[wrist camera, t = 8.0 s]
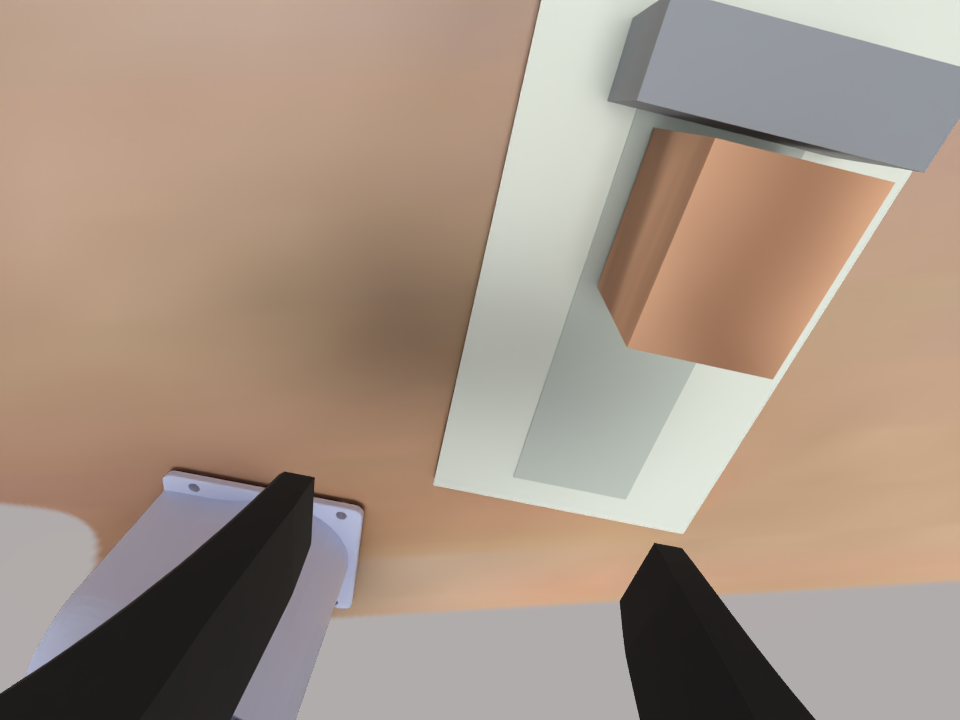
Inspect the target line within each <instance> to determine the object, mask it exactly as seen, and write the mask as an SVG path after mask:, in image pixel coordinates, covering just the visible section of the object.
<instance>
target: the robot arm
mask: <svg viewBox="0 0 960 720" xmlns="http://www.w3.org/2000/svg"><path fill="white" fill-rule="evenodd" d="M314 480H315V477H310V476H305V475H299V474H294V473H289V472H283V473H281V474H279V475H278V476H277V477H276V478H275V479H274V480H273V481H272V482H271V483H270V484H269V485H268V486H267V487H266V488H264V487H259V486H253V485H248V484H243V483H238V482H232V481H227V480H222V479H217V478H211V477H206V476H201V475H196V474H191V473H185V472H180V471H170V472H168V473H167V474H166V475H165V476H164V478H163V486H164V491H163V492H162V493H161V495H160V496H159V497H158V498H157V499H156V500H155V501H154V502H153V504H152V505H151V506H150V507H149V508H148V509H147V510H146V512H145V513H144V514H143V515H142V516H141V517H140V518H139V519H138V521H137V522H136V523H135V524H134V525H133V526H132V527H131V528H130V530H129V531H128V532H127V533H126V534H125V535H124V536H123V537H122V539H121V540H120V541H119V542H118V543H117V544H116V545H115V546H114V548H113V549H112V550H111V551H110V552H109V553H108V554H107V556H106V557H105V558H104V559H103V560H102V561H101V562H100V563H99V565H98V566H97V567H96V568H95V569H94V570H93V571H92V572H91V574H90V575H89V576H88V577H87V578H86V579H85V580H84V582H83V583H82V584H81V585H80V586H79V587H78V588H77V589H76V591H75V592H74V593H73V594H72V595H71V596H70V598H69V599H68V600H67V601H66V603H65V604H64V605H63V606H62V608H61V609H60V611H59V612H58V614H57V615H56V616H55V618H54V619H53V621H52V623H51V624H50V626H49V628H48V629H47V631H46V633H45V634H44V636H43V638H42V640H41V642H40V644H39V645H38V647H37V649H36V651H35V654H34V656H33V658H32V660H31V662H30V665H29V668H28V671H27V674H26V677H25V678H23V679H22V680H20V681H19V682H17V683H16V684H14V685H13V686H11V687H10V688H8V689H7V690H5V691H3V692H2V693H0V720H296V718H297V715H298V712H299V709H300V706H301V703H302V700H303V697H304V694H305V691H306V688H307V685H308V682H309V680H310V677H311V673H312V671H313V668H314V665H315V662H316V659H317V656H318V653H319V650H320V647H321V645H322V642H323V639H324V636H325V633H326V630H327V627H328V624H329V621H330V618H331V615H332V612H333V610H334V607H335V608H341V609H346V608H349V607H350V606H351V604H352V601H353V595H354V588H355V580H356V572H357V564H358V556H359V548H360V540H361V533H362V525H363V517H364V512H363V510H362V508H360V507H359V506H357V505H353V504H348V503H343V502H337V501H332V500H327V499H322V498H316V497H314ZM342 512H343V513H342ZM620 609H621V619H622V629H623V638H624V646H625V654H626V659H627V664H628V668H629V673H630V678H631V682H632V686H633V691H634V696H635V700H636V704H637V709H638V713H639V718H640V720H815V719H814V717H813V716H812V715H811V714H810V713H809V711H808V710H807V709H806V708H805V707H804V705H803V704H802V703H801V702H800V701H799V699H798V698H797V697H796V696H795V694H794V693H793V692H792V691H791V690H790V689H789V687H788V686H787V685H786V683H785V682H784V681H783V680H782V679H781V677H780V676H779V675H778V673H777V672H776V671H775V670H774V668H773V667H772V666H771V665H770V664H769V662H768V661H767V660H766V658H765V657H764V656H763V654H762V653H761V652H760V651H759V649H758V648H757V647H756V646H755V644H754V643H753V642H752V640H751V639H750V638H749V636H748V635H747V634H746V632H745V631H744V630H743V628H742V627H741V626H740V624H739V623H738V622H737V621H736V619H735V618H734V616H733V615H732V614H731V613H730V611H729V610H728V608H727V607H726V606H725V605H724V603H723V602H722V600H721V599H720V598H719V596H718V595H717V594H716V592H715V591H714V590H713V588H712V587H711V586H710V584H709V583H708V582H707V580H706V579H705V578H704V576H703V575H702V574H701V572H700V571H699V570H698V568H697V567H696V566H695V564H694V563H693V562H692V560H691V559H690V558H689V557H688V555H687V554H686V553H685V552H684V550H683V549H682V548H678V547H673V546H667V545H662V544H657V543H654V545H653V546H652V548H651V550H650V551H649V553H648V555H647V556H646V558H645V560H644V561H643V563H642V565H641V566H640V568H639V570H638V571H637V573H636V575H635V576H634V578H633V580H632V582H631V583H630V585H629V587H628V588H627V590H626V592H625V593H624V595H623V597H622V598H621V600H620Z"/></svg>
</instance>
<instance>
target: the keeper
mask: <svg viewBox="0 0 960 720" xmlns="http://www.w3.org/2000/svg"><path fill="white" fill-rule="evenodd" d="M894 184H895V182H891V181H887V180H883V179H879V178H875V177H871V176H867V175H863V174H859V173H855V172H851V171H847V170H843V169H839V168H835V167H831V166H827V165H823V164H819V163H815V162H811V161H807V160H803V159H799V158H795V157H791V156H787V155H783V154H779V153H775V152H771V151H766V150H762V149H758V148H754V147H750V146H746V145H742V144H738V143H734V142H730V141H726V140H722V139H718V138H714V137H707V136H701V135H695V134H689V133H683V132H677V131H671V130H665V129H659V128H654V130H653V133H652V136H651V139H650V141H649V144H648V147H647V150H646V153H645V155H644V158H643V161H642V164H641V167H640V169H639V172H638V175H637V178H636V180H635V183H634V186H633V189H632V192H631V194H630V197H629V200H628V203H627V206H626V208H625V211H624V214H623V217H622V219H621V222H620V225H619V228H618V231H617V233H616V236H615V239H614V242H613V245H612V247H611V250H610V253H609V256H608V259H607V261H606V264H605V267H604V270H603V272H602V275H601V278H600V281H599V284H598V286H597V288H598V290H599V292H600V294H601V296H602V298H603V300H604V302H605V304H606V306H607V308H608V310H609V312H610V314H611V316H612V318H613V320H614V322H615V324H616V326H617V328H618V331H619V333H620V335H621V337H622V339H623V341H624V343H625V345H626V347H627V348H630V349H635V350H639V351H644V352H649V353H653V354H658V355H662V356H667V357H671V358H676V359H681V360H685V361H690V362H694V363H699V364H704V365H708V366H713V367H717V368H722V369H726V370H731V371H736V372H740V373H745V374H749V375H754V376H759V377H763V378H768V379H772V380H773V379H774V377H775V375H776V374H777V372H778V370H779V369H780V367H781V366H782V364H783V362H784V361H785V359H786V358H787V356H788V354H789V353H790V351H791V350H792V348H793V346H794V345H795V343H796V342H797V340H798V338H799V337H800V335H801V334H802V332H803V330H804V329H805V327H806V326H807V324H808V322H809V321H810V319H811V317H812V316H813V314H814V313H815V311H816V309H817V308H818V306H819V305H820V303H821V301H822V300H823V298H824V297H825V295H826V293H827V292H828V290H829V289H830V287H831V285H832V284H833V282H834V281H835V279H836V277H837V276H838V274H839V273H840V271H841V269H842V268H843V266H844V265H845V263H846V261H847V260H848V258H849V256H850V255H851V253H852V252H853V250H854V248H855V247H856V245H857V244H858V242H859V240H860V239H861V237H862V236H863V234H864V232H865V231H866V229H867V228H868V226H869V224H870V223H871V221H872V220H873V218H874V216H875V215H876V213H877V212H878V210H879V208H880V207H881V205H882V204H883V202H884V200H885V199H886V197H887V195H888V194H889V192H890V191H891V189H892V187H893V186H894Z"/></svg>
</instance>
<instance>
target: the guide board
mask: <svg viewBox="0 0 960 720" xmlns="http://www.w3.org/2000/svg"><path fill="white" fill-rule="evenodd" d="M959 118H960V0H541V3H540V7H539V12H538V16H537V21H536V25H535V30H534V34H533V39H532V43H531V48H530V52H529V57H528V61H527V66H526V70H525V74H524V79H523V83H522V88H521V92H520V97H519V101H518V106H517V110H516V115H515V119H514V124H513V128H512V133H511V137H510V142H509V146H508V151H507V155H506V160H505V164H504V169H503V173H502V178H501V182H500V187H499V191H498V196H497V200H496V205H495V209H494V214H493V218H492V223H491V227H490V232H489V236H488V241H487V245H486V250H485V254H484V259H483V263H482V267H481V272H480V276H479V281H478V285H477V290H476V294H475V299H474V303H473V308H472V312H471V317H470V321H469V326H468V330H467V335H466V339H465V344H464V348H463V353H462V357H461V362H460V366H459V371H458V375H457V380H456V384H455V389H454V393H453V398H452V402H451V407H450V411H449V416H448V420H447V425H446V429H445V434H444V438H443V443H442V447H441V452H440V456H439V461H438V465H437V469H436V474H435V479H434V484H433V485H434V486H439V487H444V488H449V489H454V490H460V491H465V492H470V493H475V494H480V495H485V496H490V497H495V498H501V499H506V500H511V501H516V502H521V503H526V504H531V505H536V506H542V507H547V508H552V509H557V510H562V511H567V512H572V513H577V514H583V515H588V516H593V517H598V518H603V519H608V520H613V521H618V522H624V523H629V524H634V525H639V526H644V527H649V528H654V529H659V530H665V531H670V532H675V533H680V534H683V533H684V532H685V530H686V528H687V527H688V525H689V524H690V522H691V520H692V519H693V517H694V516H695V514H696V513H697V511H698V509H699V508H700V506H701V505H702V503H703V502H704V500H705V498H706V497H707V495H708V494H709V492H710V490H711V489H712V487H713V486H714V484H715V483H716V481H717V479H718V478H719V476H720V475H721V473H722V471H723V470H724V468H725V467H726V465H727V464H728V462H729V460H730V459H731V457H732V456H733V454H734V453H735V451H736V449H737V448H738V446H739V445H740V443H741V441H742V440H743V438H744V437H745V435H746V434H747V432H748V430H749V429H750V427H751V426H752V424H753V422H754V421H755V419H756V418H757V416H758V415H759V413H760V411H761V410H762V408H763V407H764V405H765V404H766V402H767V400H768V399H769V397H770V396H771V394H772V392H773V391H774V389H775V388H776V386H777V385H778V383H779V381H780V380H781V378H782V377H783V375H784V373H785V372H786V370H787V369H788V367H789V366H790V364H791V362H792V361H793V359H794V358H795V356H796V355H797V353H798V351H799V350H800V348H801V347H802V345H803V343H804V342H805V340H806V339H807V337H808V336H809V334H810V332H811V331H812V329H813V328H814V326H815V324H816V323H817V321H818V320H819V318H820V317H821V315H822V313H823V312H824V310H825V309H826V307H827V306H828V304H829V302H830V301H831V299H832V298H833V296H834V294H835V293H836V291H837V290H838V288H839V287H840V285H841V283H842V282H843V280H844V279H845V277H846V275H847V274H848V272H849V271H850V269H851V268H852V266H853V264H854V263H855V261H856V260H857V258H858V257H859V255H860V253H861V252H862V250H863V249H864V247H865V245H866V244H867V242H868V241H869V239H870V238H871V236H872V234H873V233H874V231H875V230H876V228H877V227H878V225H879V223H880V222H881V220H882V219H883V217H884V215H885V214H886V212H887V211H888V209H889V208H890V206H891V204H892V203H893V201H894V200H895V198H896V196H897V195H898V193H899V192H900V190H901V189H902V187H903V185H904V184H905V182H906V181H907V179H908V178H909V176H910V174H911V173H912V171H917V172H923V173H924V172H925V171H926V169H927V168H928V166H929V165H930V163H931V161H932V160H933V158H934V157H935V155H936V154H937V152H938V151H939V149H940V147H941V146H942V144H943V143H944V141H945V140H946V138H947V137H948V135H949V134H950V132H951V130H952V129H953V127H954V126H955V124H956V123H957V121H958V120H959ZM654 128H659V129H665V130H671V131H677V132H683V133H689V134H695V135H701V136H707V137H714V138H718V139H722V140H726V141H730V142H734V143H738V144H742V145H746V146H750V147H754V148H758V149H762V150H766V151H771V152H775V153H779V154H783V155H787V156H791V157H795V158H799V159H803V160H807V161H811V162H815V163H819V164H823V165H827V166H831V167H835V168H839V169H843V170H847V171H851V172H855V173H859V174H863V175H867V176H871V177H875V178H879V179H883V180H887V181H891V182H895V184H894V186H893V187H892V189H891V191H890V192H889V194H888V195H887V197H886V199H885V200H884V202H883V204H882V205H881V207H880V208H879V210H878V212H877V213H876V215H875V216H874V218H873V220H872V221H871V223H870V224H869V226H868V228H867V229H866V231H865V232H864V234H863V236H862V237H861V239H860V240H859V242H858V244H857V245H856V247H855V248H854V250H853V252H852V253H851V255H850V256H849V258H848V260H847V261H846V263H845V265H844V266H843V268H842V269H841V271H840V273H839V274H838V276H837V277H836V279H835V281H834V282H833V284H832V285H831V287H830V289H829V290H828V292H827V293H826V295H825V297H824V298H823V300H822V301H821V303H820V305H819V306H818V308H817V309H816V311H815V313H814V314H813V316H812V317H811V319H810V321H809V322H808V324H807V326H806V327H805V329H804V330H803V332H802V334H801V335H800V337H799V338H798V340H797V342H796V343H795V345H794V346H793V348H792V350H791V351H790V353H789V354H788V356H787V358H786V359H785V361H784V362H783V364H782V366H781V367H780V369H779V370H778V372H777V374H776V375H775V377H774V379H773V380H772V379H768V378H763V377H759V376H754V375H749V374H745V373H740V372H736V371H731V370H726V369H722V368H717V367H713V366H708V365H704V364H699V363H694V362H690V361H685V360H681V359H676V358H671V357H667V356H662V355H658V354H653V353H649V352H644V351H639V350H635V349H630V348H627V347H626V345H625V343H624V341H623V339H622V337H621V335H620V333H619V331H618V328H617V326H616V324H615V322H614V320H613V318H612V316H611V314H610V312H609V310H608V308H607V306H606V304H605V302H604V300H603V298H602V296H601V294H600V292H599V290H598V288H597V286H598V284H599V281H600V278H601V275H602V272H603V270H604V267H605V264H606V261H607V259H608V256H609V253H610V250H611V247H612V245H613V242H614V239H615V236H616V233H617V231H618V228H619V225H620V222H621V219H622V217H623V214H624V211H625V208H626V206H627V203H628V200H629V197H630V194H631V192H632V189H633V186H634V183H635V180H636V178H637V175H638V172H639V169H640V167H641V164H642V161H643V158H644V155H645V153H646V150H647V147H648V144H649V141H650V139H651V136H652V133H653V130H654Z"/></svg>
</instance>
